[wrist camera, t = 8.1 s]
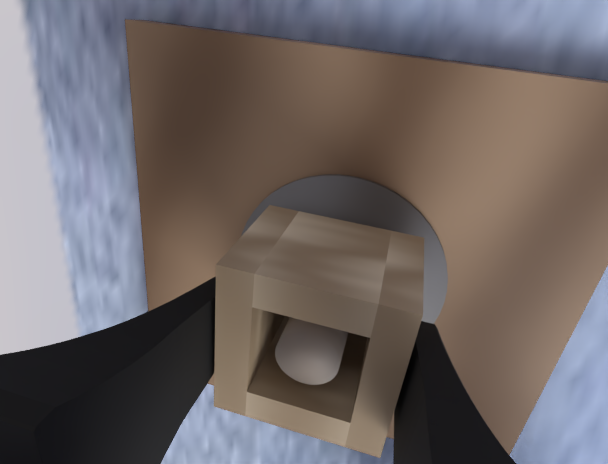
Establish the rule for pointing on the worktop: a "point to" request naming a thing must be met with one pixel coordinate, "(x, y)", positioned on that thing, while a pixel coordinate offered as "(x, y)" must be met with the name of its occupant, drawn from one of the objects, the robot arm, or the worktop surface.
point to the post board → (382, 187)
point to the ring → (320, 310)
